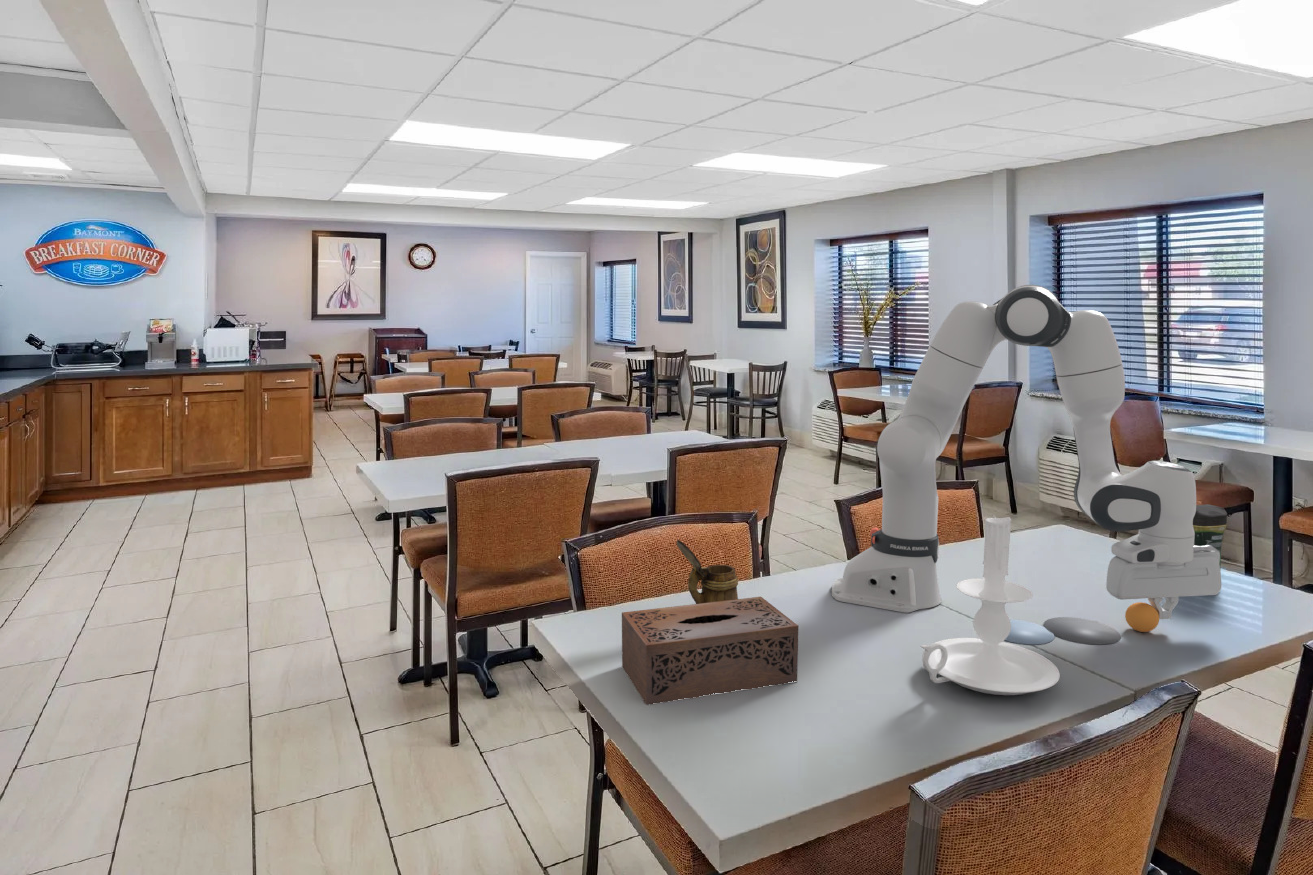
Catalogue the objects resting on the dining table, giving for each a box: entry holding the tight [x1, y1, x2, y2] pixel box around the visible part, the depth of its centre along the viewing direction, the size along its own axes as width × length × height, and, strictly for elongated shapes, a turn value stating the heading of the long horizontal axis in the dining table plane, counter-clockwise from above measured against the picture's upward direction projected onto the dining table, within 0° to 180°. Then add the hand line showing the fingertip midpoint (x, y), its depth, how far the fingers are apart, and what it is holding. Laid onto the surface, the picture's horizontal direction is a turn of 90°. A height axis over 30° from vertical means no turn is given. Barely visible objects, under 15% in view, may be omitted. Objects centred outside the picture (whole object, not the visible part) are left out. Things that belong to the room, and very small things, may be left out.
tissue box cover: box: [621, 596, 799, 706], centre depth 133 cm, size 26×14×10 cm, turn 107°
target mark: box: [1042, 616, 1122, 646], centre depth 152 cm, size 13×13×1 cm
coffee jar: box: [1193, 503, 1228, 571], centre depth 175 cm, size 10×8×19 cm
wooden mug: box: [676, 539, 739, 604], centre depth 154 cm, size 9×14×18 cm, turn 112°
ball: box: [1124, 601, 1160, 633], centre depth 152 cm, size 6×6×6 cm
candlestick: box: [920, 514, 1061, 696], centre depth 129 cm, size 21×25×28 cm
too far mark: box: [1004, 618, 1055, 646], centre depth 152 cm, size 12×12×1 cm
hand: (1162, 618), depth 152 cm, fingers closed
